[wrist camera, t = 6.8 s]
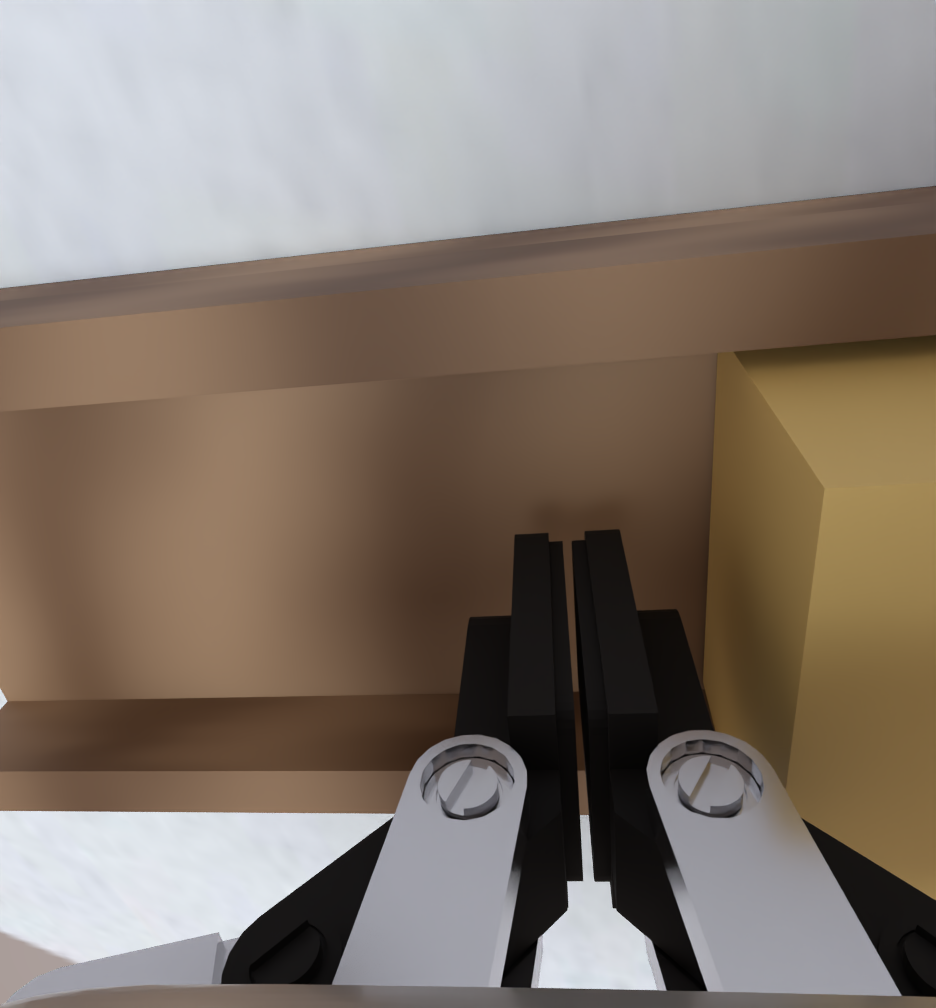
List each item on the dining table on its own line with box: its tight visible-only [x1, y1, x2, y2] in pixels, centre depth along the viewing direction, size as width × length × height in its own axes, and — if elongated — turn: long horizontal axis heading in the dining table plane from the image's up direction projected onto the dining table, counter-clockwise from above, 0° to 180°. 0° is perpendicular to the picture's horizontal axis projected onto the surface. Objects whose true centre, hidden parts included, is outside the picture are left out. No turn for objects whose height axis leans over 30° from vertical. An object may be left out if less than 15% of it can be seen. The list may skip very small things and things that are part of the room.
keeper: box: [703, 335, 936, 900], centre depth 10 cm, size 5×7×5 cm
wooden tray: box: [0, 186, 936, 815], centre depth 12 cm, size 22×10×6 cm, turn 97°
